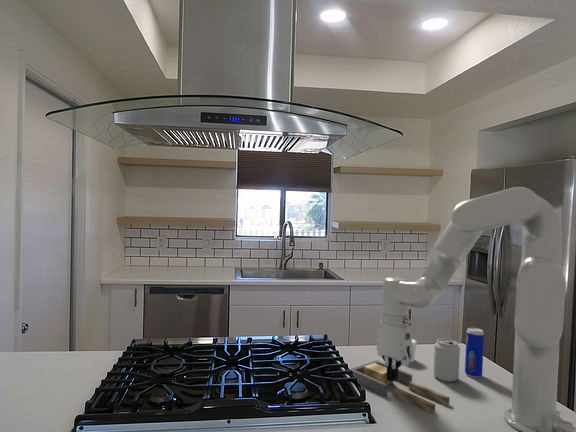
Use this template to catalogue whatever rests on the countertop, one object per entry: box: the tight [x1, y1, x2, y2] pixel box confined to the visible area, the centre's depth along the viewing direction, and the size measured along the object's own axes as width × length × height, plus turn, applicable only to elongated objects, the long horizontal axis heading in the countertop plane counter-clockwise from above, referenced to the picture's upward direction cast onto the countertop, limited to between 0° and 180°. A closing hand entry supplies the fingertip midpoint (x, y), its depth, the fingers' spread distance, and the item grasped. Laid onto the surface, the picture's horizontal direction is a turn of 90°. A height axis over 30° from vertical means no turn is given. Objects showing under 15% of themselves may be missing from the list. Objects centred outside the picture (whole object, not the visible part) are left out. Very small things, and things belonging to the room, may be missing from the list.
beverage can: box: [464, 327, 485, 379], centre depth 130 cm, size 5×5×15 cm
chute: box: [393, 381, 451, 414], centre depth 112 cm, size 12×8×2 cm
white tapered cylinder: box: [409, 338, 418, 363], centre depth 142 cm, size 7×7×7 cm
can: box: [433, 337, 461, 383], centre depth 127 cm, size 8×8×12 cm
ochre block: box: [364, 363, 393, 385], centre depth 124 cm, size 7×5×4 cm
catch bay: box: [348, 360, 413, 397], centre depth 123 cm, size 14×13×3 cm
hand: (392, 379), depth 120 cm, fingers closed
